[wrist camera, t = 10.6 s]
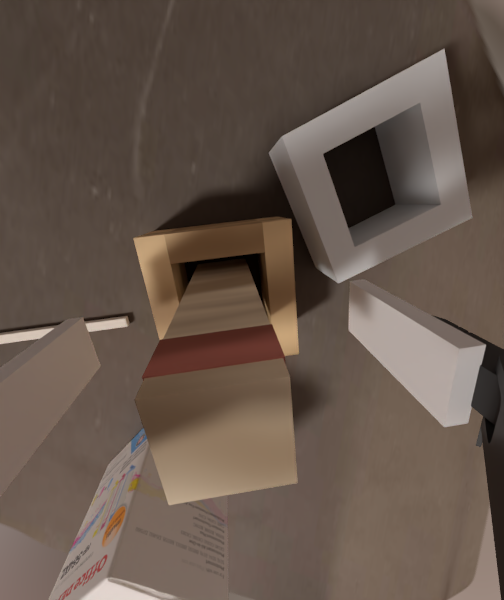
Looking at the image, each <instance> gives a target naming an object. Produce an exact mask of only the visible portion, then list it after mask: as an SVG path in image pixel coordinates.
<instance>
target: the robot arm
mask: <svg viewBox="0 0 504 600" xmlns="http://www.w3.org/2000/svg"><path fill="white" fill-rule="evenodd" d="M349 331H350V332H351V333H352V334H353V335H354V336H355V337H356V338H357V339H358V340H359V341H360V342H361V343H362V344H363V345H364V346H365V347H366V348H367V349H368V350H369V351H370V352H371V353H372V354H373V355H374V356H375V357H376V358H377V359H378V360H379V361H380V363H381V364H382V365H383V366H384V367H385V368H386V369H387V370H388V371H389V372H390V373H391V374H392V375H393V376H394V377H395V378H396V379H397V380H398V381H399V382H400V383H401V384H402V385H403V386H404V387H405V388H406V389H407V390H408V391H409V392H410V393H411V394H412V395H413V396H414V397H415V398H416V399H417V400H418V401H419V402H420V403H421V404H422V405H423V406H424V407H425V408H426V409H427V410H428V411H429V412H430V413H431V414H432V415H433V416H434V417H435V418H436V419H437V420H438V421H439V422H440V423H441V424H442V425H443V426H444V427H448V426H454V425H460V424H466V423H468V421H469V417H470V412H471V408H472V407H473V408H474V409H475V410H476V411H478V412H479V413H480V414H481V415H483V419H482V423H481V427H480V431H479V435H478V439H477V443H476V446H479V447H481V445H482V442H483V449H484V458H485V466H486V474H487V483H488V491H489V500H490V508H491V515H492V524H493V533H494V541H495V550H496V558H497V567H498V575H499V583H500V592H501V600H504V349H502V348H500V347H498V346H496V345H494V344H492V343H490V342H488V341H486V340H484V339H482V338H480V337H479V336H477V335H475V334H473V333H469V332H468V331H467V330H465V329H463V328H461V327H458V326H457V325H455V324H454V323H452V322H450V321H448V320H446V319H442V318H439V317H436V316H432V315H430V314H428V313H426V312H424V311H422V310H421V309H419V308H417V307H415V306H413V305H411V304H409V303H407V302H406V301H404V300H402V299H400V298H398V297H396V296H394V295H393V294H391V293H389V292H387V291H385V290H383V289H381V288H380V287H378V286H376V285H374V284H372V283H370V282H368V281H367V280H365V279H363V280H356V281H350V289H349ZM99 368H100V363H99V360H98V357H97V355H96V352H95V349H94V346H93V344H92V341H91V338H90V335H89V333H88V330H87V327H86V324H85V322H84V319H83V317H81V318H73V319H66V320H65V321H64V322H62V323H61V324H59V325H58V326H57V327H55V328H54V329H53V330H51V331H50V332H48V333H47V334H46V335H44V336H43V337H42V338H40V339H39V340H37V341H36V342H35V343H33V344H32V345H31V346H29V347H28V348H26V349H25V350H24V351H22V352H21V353H20V354H18V355H17V356H15V357H14V358H13V359H11V360H10V361H9V362H7V363H6V364H4V365H3V366H2V367H0V497H1V495H2V494H3V493H4V491H5V490H6V489H7V488H8V486H9V485H10V484H11V482H12V481H13V480H14V478H15V477H16V476H17V474H18V473H19V472H20V471H21V469H22V468H23V467H24V465H25V464H26V463H27V461H28V460H29V459H30V458H31V456H32V455H33V454H34V452H35V451H36V450H37V448H38V447H39V446H40V444H41V443H42V442H43V441H44V439H45V438H46V437H47V435H48V434H49V433H50V431H51V430H52V429H53V428H54V426H55V425H56V424H57V422H58V421H59V420H60V418H61V417H62V416H63V414H64V413H65V412H66V411H67V409H68V408H69V407H70V405H71V404H72V403H73V401H74V400H75V399H76V398H77V396H78V395H79V394H80V392H81V391H82V390H83V388H84V387H85V386H86V384H87V383H88V382H89V381H90V379H91V378H92V377H93V375H94V374H95V373H96V371H97V370H98V369H99Z"/></svg>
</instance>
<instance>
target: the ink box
mask: <svg viewBox="0 0 504 600" xmlns="http://www.w3.org/2000/svg"><path fill="white" fill-rule="evenodd" d="M48 600H228V495H225V496H219V497H214V498H208V499H202V500H197V501H191V502H185V503H179V504H174V505H168V501H167V498H166V495H165V492H164V489H163V486H162V483H161V480H160V477H159V474H158V471H157V468H156V465H155V461H154V458H153V455H152V452H151V449H150V446H149V443H148V440H147V437H146V434H145V431H144V428H143V429H142V430H141V431H140V432H139V433H138V434H137V435H136V436H135V437H134V438H133V439H132V440H131V441H130V442H129V443H128V444H127V445H126V446H125V447H124V449H123V450H122V451H121V452H120V453H119V454H118V455H117V456H116V457H115V458H114V459H113V460H112V461H111V462H110V463H109V465H108V467H107V469H106V471H105V474H104V476H103V478H102V480H101V482H100V485H99V487H98V489H97V491H96V494H95V496H94V498H93V501H92V503H91V505H90V508H89V510H88V512H87V514H86V517H85V519H84V521H83V523H82V526H81V528H80V530H79V532H78V534H77V537H76V539H75V541H74V543H73V546H72V548H71V550H70V552H69V554H68V557H67V559H66V561H65V563H64V566H63V568H62V570H61V573H60V575H59V577H58V579H57V581H56V584H55V586H54V588H53V590H52V593H51V595H50V597H49V599H48Z"/></svg>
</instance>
